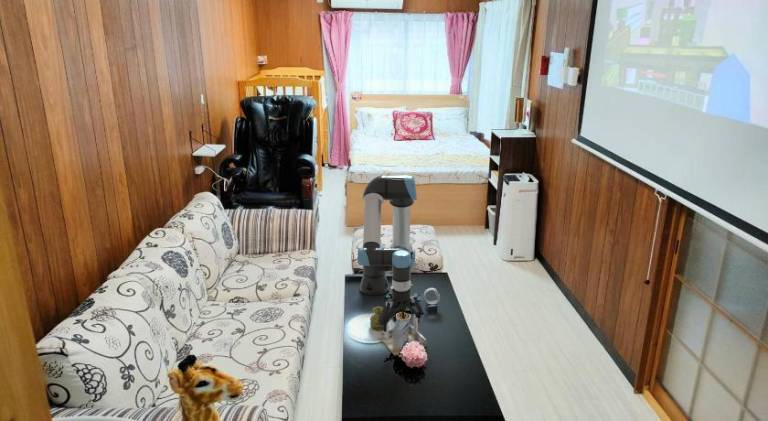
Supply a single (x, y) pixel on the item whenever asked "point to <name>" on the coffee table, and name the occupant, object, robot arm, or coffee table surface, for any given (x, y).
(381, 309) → the gold round knobbed cylinder
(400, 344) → the medicine box
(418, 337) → the corner arena
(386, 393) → the coffee table surface
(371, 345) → the coffee table surface
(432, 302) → the watch
